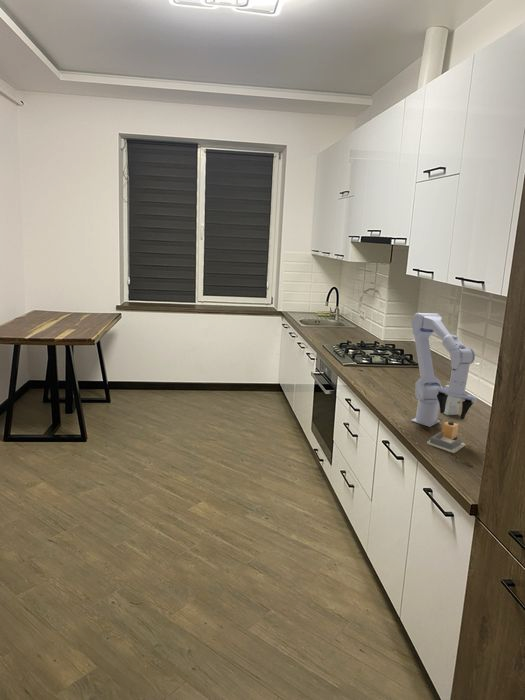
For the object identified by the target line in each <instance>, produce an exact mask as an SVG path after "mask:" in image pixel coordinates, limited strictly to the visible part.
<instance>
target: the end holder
mask: <svg viewBox="0 0 525 700" xmlns="http://www.w3.org/2000/svg"><path fill="white" fill-rule="evenodd" d="M443 433H444V432H442V431H439V432H438V433H436V434H434V435H432V436H431V437H430V439H429V440H428V441H426V445H429V446H432V447H435V448H438V449H441V450H443V451H446V452H449V453H453V454H455V453H456V452H458V451H459V450H461V449H462V448H464V447H465V446H466V443H464V442H463V438H462V437H459V438H457V439H449V438H446V437H443Z"/></svg>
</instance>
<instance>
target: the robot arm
mask: <svg viewBox="0 0 525 700" xmlns="http://www.w3.org/2000/svg"><path fill="white" fill-rule="evenodd" d="M410 323H411V326H412V327H411V328H412V334H413V336H414V337H413V338H414V344H415V350H416V357H417V363H418V364H417V365H418V368H419V369H418V371H419V375H420V378H419V379H418V380H417V381H416V382H415V383H414V385H415V388H414V395H415V398H416V400H418V401H417V407H416V414H415V418H412V419H411V422H413V423H417V424H419V425H423V426H426V427H432V426H434V425H436V424H438V423H439V422H441V421H440V420H439V419H438V418H439V413H440V414H444V411H445V405H446V401H447V397H448V395H449V396H453V397H456V398H460V400H462V402H461V406H462V407H461V414H460V420H464V419H465V417H466V415H467V413H468V412H469V410H470V408H471V407H472V405H474V404H475V403H476V402H477V399H478V396H475V395H472V394H469V393H466V387H467V381H468V375H469V370H470V366H471V365H472V364H473V363H474V361H475V358H476V355H475V352H474V350H473V348H471V347H467V346H465V344H463V343H462V342H461V340H460V339H459V338H458V335H456V334H451V333H450V332H449V330H448V329H447V327H446V326H445V324H444V323H443V318H442V316H441V315H440V314H439V313H437V312H435V313H430V312H429V313H427V312H424V313H423V312H416V313H414V315H413V317H412V319H411V322H410ZM434 333H435V335H437V336H438V337H439V338H440V339H441V340H442V341H441V345H442V346H443V347H444V349H445V350H446V352H448V354H450V355H449V357H450V363H451V364H450V367H451V372H450V377H449V384H448V385H449V388H448V389H447V388H445V387H443V386H442V384H441V382H442V381H441V380H440V379H439V378H437V377H436V376H435V371H434V365H433V358H432V352H431V344H430V339H429V338H430V336H433V335H434Z"/></svg>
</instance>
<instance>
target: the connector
mask: <svg viewBox="0 0 525 700" xmlns="http://www.w3.org/2000/svg"><path fill="white" fill-rule="evenodd" d="M459 425H460V424H459V423H457V422H456V423H455V422H454V421H451V420H448V421H445V422H444V423H442V425H441V432H444V433H443V437H446V438H449V439H452V440H455V438H457V435H458V432H459V431H458V430H459Z"/></svg>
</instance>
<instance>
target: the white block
mask: <svg viewBox="0 0 525 700" xmlns="http://www.w3.org/2000/svg"><path fill="white" fill-rule="evenodd" d="M444 388H447V389H448V388H449V384H445V385H444ZM460 404H461V399H460V398H456V397H453V396H449V395H448V397H447V401H446V405H445V411H444V413H443V414H444V415H446V416H455V415H458V414H459V412H460V410H459V409H460Z"/></svg>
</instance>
